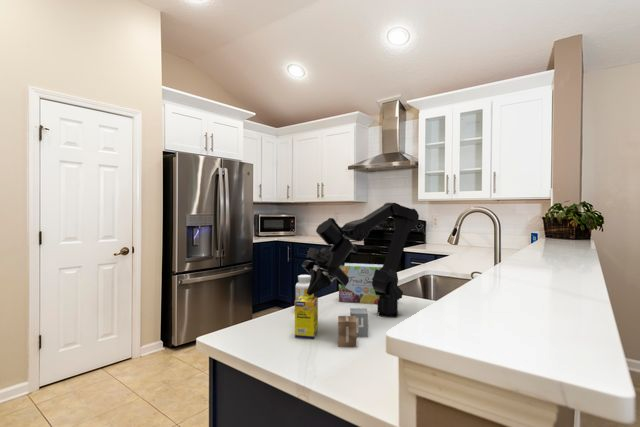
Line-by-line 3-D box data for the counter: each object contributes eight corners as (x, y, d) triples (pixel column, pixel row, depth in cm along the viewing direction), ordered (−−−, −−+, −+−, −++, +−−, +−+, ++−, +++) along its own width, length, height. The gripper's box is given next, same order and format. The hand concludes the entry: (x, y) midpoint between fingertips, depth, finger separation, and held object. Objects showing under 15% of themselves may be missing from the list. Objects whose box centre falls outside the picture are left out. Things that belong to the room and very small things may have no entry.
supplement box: (314, 339, 101) (314, 302, 100) (294, 337, 102) (294, 301, 102) (318, 331, 107) (318, 296, 106) (299, 330, 108) (299, 295, 108)
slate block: (366, 330, 107) (366, 308, 107) (368, 337, 102) (367, 313, 102) (350, 330, 108) (350, 308, 107) (350, 337, 102) (350, 313, 102)
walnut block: (355, 340, 100) (355, 315, 100) (356, 347, 95) (356, 321, 95) (338, 339, 100) (338, 315, 100) (338, 347, 95) (338, 321, 95)
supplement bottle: (316, 308, 130) (316, 274, 129) (310, 314, 123) (309, 278, 123) (299, 307, 132) (299, 273, 131) (292, 312, 126) (292, 277, 125)
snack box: (338, 302, 138) (338, 264, 138) (340, 298, 144) (340, 262, 143) (392, 305, 133) (392, 266, 133) (393, 301, 139) (393, 264, 138)
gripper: (306, 235, 114) (276, 272, 109) (340, 240, 99) (308, 284, 93) (326, 257, 119) (298, 293, 113) (361, 264, 104) (332, 308, 98)
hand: (308, 294), depth 104 cm, fingers closed
